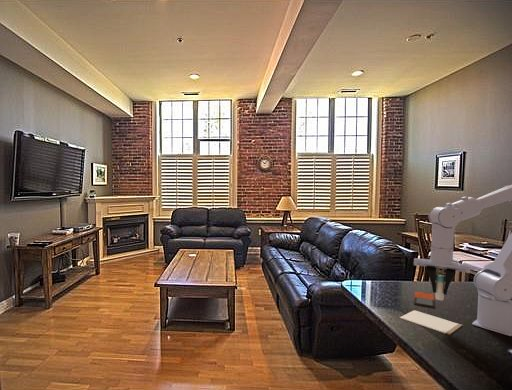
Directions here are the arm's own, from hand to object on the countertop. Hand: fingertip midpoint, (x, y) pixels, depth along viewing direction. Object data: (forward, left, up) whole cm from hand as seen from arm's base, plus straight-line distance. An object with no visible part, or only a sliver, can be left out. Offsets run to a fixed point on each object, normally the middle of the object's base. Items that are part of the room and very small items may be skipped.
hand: (439, 292), depth 97 cm
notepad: (+2, 0, -9) cm, 10 cm away
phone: (+12, -19, -10) cm, 24 cm away
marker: (0, 0, -2) cm, 2 cm away
